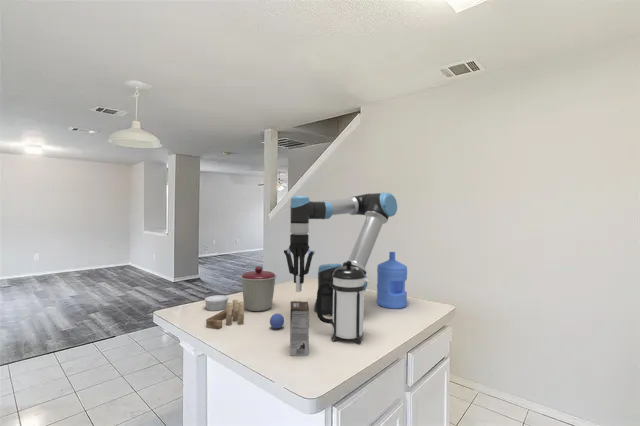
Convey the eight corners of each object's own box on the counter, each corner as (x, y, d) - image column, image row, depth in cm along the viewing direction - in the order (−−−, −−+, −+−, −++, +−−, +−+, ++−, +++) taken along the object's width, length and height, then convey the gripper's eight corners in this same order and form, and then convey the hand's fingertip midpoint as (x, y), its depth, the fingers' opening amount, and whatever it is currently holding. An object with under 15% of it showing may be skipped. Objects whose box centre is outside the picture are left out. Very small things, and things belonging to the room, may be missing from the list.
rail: (240, 316, 147) (240, 309, 147) (219, 329, 130) (219, 322, 130) (227, 314, 148) (227, 308, 148) (204, 327, 132) (204, 320, 132)
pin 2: (238, 320, 141) (239, 300, 141) (236, 321, 139) (236, 301, 139) (234, 319, 142) (234, 299, 142) (231, 321, 140) (231, 301, 140)
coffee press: (352, 327, 134) (352, 256, 134) (374, 341, 120) (375, 262, 120) (315, 334, 126) (316, 259, 126) (335, 349, 112) (336, 265, 112)
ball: (286, 326, 134) (286, 312, 134) (280, 331, 129) (280, 316, 129) (273, 324, 136) (273, 311, 136) (267, 329, 130) (267, 315, 130)
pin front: (244, 323, 138) (244, 302, 138) (241, 325, 136) (242, 304, 135) (239, 322, 138) (240, 302, 138) (236, 324, 136) (237, 303, 136)
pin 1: (232, 323, 137) (233, 303, 137) (229, 325, 134) (230, 304, 134) (228, 323, 137) (228, 302, 137) (224, 325, 135) (225, 304, 135)
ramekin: (200, 308, 158) (200, 297, 158) (220, 303, 167) (221, 293, 167) (211, 313, 151) (211, 302, 151) (232, 308, 159) (232, 297, 159)
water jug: (371, 305, 167) (371, 252, 167) (385, 299, 179) (386, 249, 179) (398, 311, 157) (398, 255, 157) (411, 304, 169) (412, 252, 169)
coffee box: (290, 345, 116) (290, 301, 116) (307, 344, 116) (308, 300, 116) (289, 356, 107) (290, 308, 107) (308, 355, 107) (309, 308, 107)
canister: (271, 301, 171) (272, 263, 171) (280, 312, 154) (280, 268, 154) (237, 305, 164) (238, 264, 164) (242, 315, 147) (242, 270, 147)
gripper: (317, 233, 131) (316, 290, 131) (288, 232, 135) (287, 287, 135) (311, 234, 124) (311, 294, 124) (281, 233, 128) (280, 292, 128)
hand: (298, 291), depth 130 cm, fingers closed
